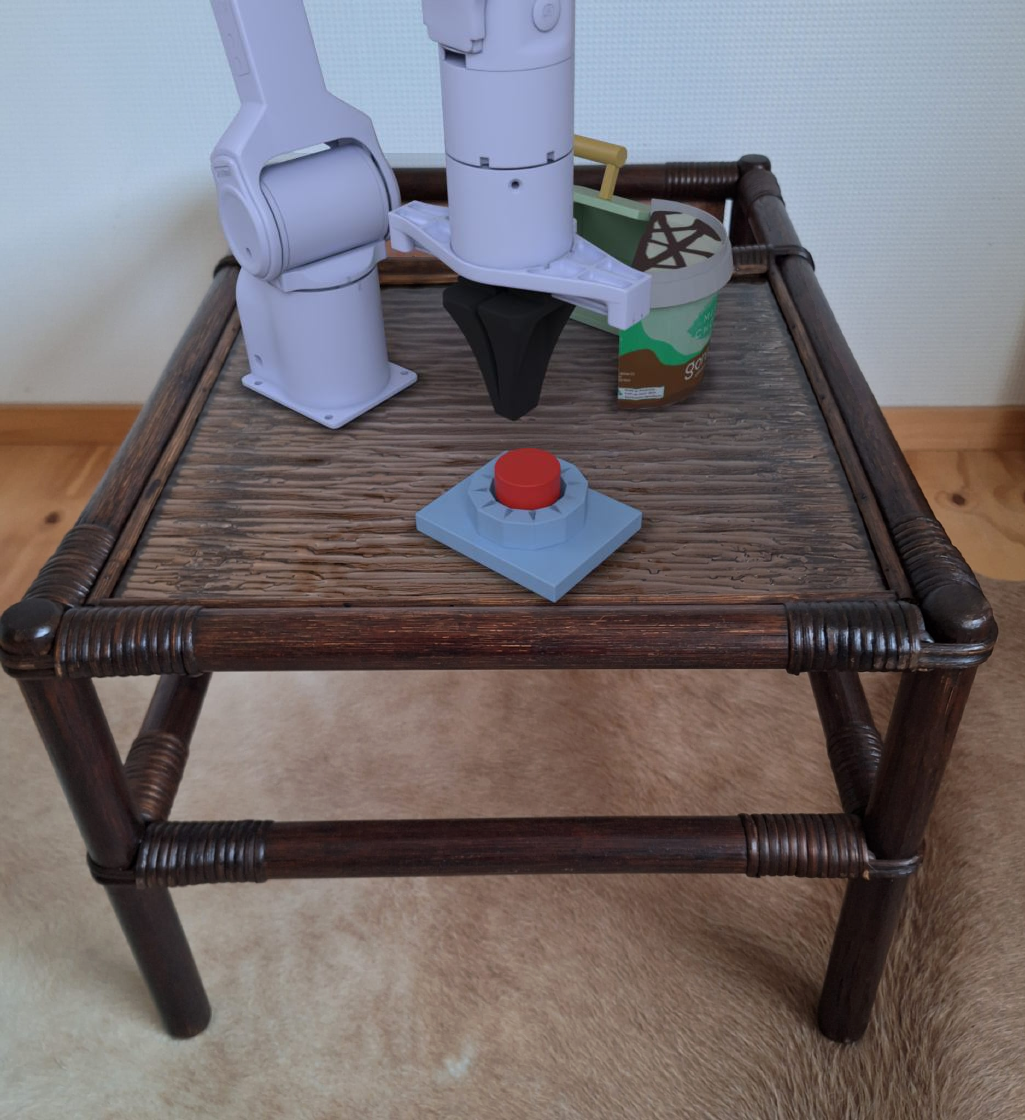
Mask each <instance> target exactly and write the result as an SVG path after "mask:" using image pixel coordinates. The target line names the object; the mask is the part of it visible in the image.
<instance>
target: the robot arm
mask: <svg viewBox="0 0 1025 1120" xmlns="http://www.w3.org/2000/svg"><path fill="white" fill-rule="evenodd" d="M209 3H210V6H211V9H212V13H213V15H214V19H215V22H216V25H217V29H218V33H219V37H220V40H221V42H222V45H223V49H224V53H225V56H226V59H227V62H228V66H229V69H230V72H231V75H232V76H231V77H232V79H233V83H234V86H235V89H236V92H237V95H238V99H239V102H240V107H239V109H238V111H237V113H236V114H235V116H234V117H233V119H232V121H231V122H230V123H229V125H228V126H227V128H226V130H224V132H223V133H222V135H221V137H220V138H219V140H218V142H217V143H216V144H215V146H214V148H213V149H212V152H211V154H210V156H209V161H210V170H211V174H212V176H213V177H212V178H213V181H214V185H215V190H216V195H217V210H218V216H219V221H220V225H221V229H222V233H223V235H224V238H225V240H226V243H227V245H228V247H229V249H230V251H231V253H232V255H233V256H234V258H235V260H236V262H237V263H238V264H239V265H240V267H241V268H240V271H239V273H238V276H237V280H236V285H235V301H236V306H237V311H238V316H239V321H240V326H241V331H242V334H243V339H244V345H245V349H246V354H247V359H248V364H249V369H250V373H248V374H246V375H244V376H243V377H242V378H241V382H242V383H241V384H242V385H243V386H244V387H246V388H248V389H250V390H252V391H254V392H256V393H258V394H260V395H262V396H264V397H266V398H268V399H270V400H272V401H274V402H276V403H279V404H280V405H282V406H284V407H286V408H288V409H290V410H293V411H295V412H296V413H298V414H301V415H302V416H304V417H307V418H308V419H311V420H313V421H315V422H317V423H318V424H321V425H323V426H325V427H327V428H329V429H333V430H336V429H339V428H341V427H343V426H344V425H346V424H348V423H350V422H351V421H353V420H354V419H357V418H358V417H359V416H361V415H363V414H366V412H368V411H369V410H371V409H373V408H375V407H376V406H378V405H380V404H382V403H383V402H384V401H386V400H388V399H390V398H391V397H394V396H395V395H396V394H398V393H399V392H401V391H403V390H405V389H406V388H408V387H410V386H411V385H413V384H414V383H416V382H417V381H418V374H417V373H416V372H415V371H413V370H410V369H407V368H405V367H403V366H401V365H398V364H396V363H394V362H391V361H389V357H388V347H387V340H386V339H387V338H386V331H385V321H384V312H383V303H382V293H381V286H380V285H381V284H380V277H379V269H378V267H379V266H378V263H380V262H381V261H383V260H386V259H387V258H388V253H387V246H386V243H387V242H389V241H390V246H391V249H392V250H395V251H397V252H400V253H404V254H407V253H410V252H413V251H414V250H415V251H419V252H422V253H425V254H427V255H431V256H433V257H436V258H437V259H438V260H440V261H441V262H442V263H444V264H445V265H446V266H447V267H448V268H450V269H451V270H452V271H453V272H455V273H456V274H457V275H458V276H457V277H456V278H457V279H456V280H457V281H456V282H455V283H453V284H451V285H449V286H447V287H446V288H445V289H444V290H443V291H442V293H441V299H442V308H444V309H445V311H446V312H447V313H448V314H449V316H450V317H451V318H452V320H453V321H454V323H455V324H456V325H457V326H458V328H459V330H460V332H461V333H462V335H463V336H464V338H465V340H466V342H467V344H468V345H469V348H470V350H471V351H472V354H473V357H474V358H475V361H476V363H477V365H478V368H479V370H480V373H481V376H482V379H483V381H484V384H485V387H486V391H487V393H488V396H489V399H490V402H491V405H492V408H493V411H494V414H495V415H498V416H500V417H502V418H505V419H507V420H509V421H511V422H516V421H518V420H520V419H521V418H523V417H524V416H525V415H527V414H528V413H530V412H531V411H533V410H534V409H536V408H537V407H538V405H539V401H540V398H541V397H540V396H541V393H542V389H543V384H544V381H545V377H546V374H547V370H548V368H549V364H550V361H551V359H552V355H553V352H554V350H555V348H556V346H557V344H558V341H559V339H560V336H561V334H562V332H563V330H564V329H565V326H566V325H567V323H568V321H569V319H570V318H569V317H570V316H571V314H572V312H573V311H574V309H575V307H576V306H580V307H583V308H585V309H588V310H591V311H594V312H597V313H600V314H603V315H606V316H608V318H607V323H608V324H609V325H610V326H613V327H615V328H618V329H621V330H626V329H628V328H629V327H631V326H632V325H635V324H636V323H638V322H639V321H641V320H642V319H643V318H644V317H646V316H647V315H649V314H650V300H651V284H652V276H651V275H649V274H646V273H643V272H641V271H638V270H636V269H633V268H631V267H629V266H627V265H625V264H623V263H622V262H620V261H618V260H617V259H615V258H614V257H612V256H610V255H609V254H607V253H606V252H604V251H602V250H601V249H599V248H598V247H596V246H595V245H593V244H591V243H590V242H588V241H587V240H585V239H584V238H582V237H580V236H579V235H577V234H576V233H577V221H576V219H575V218H573V185H574V171H575V170H574V168H575V167H574V164H575V163H574V161H575V159H574V158H575V156H574V134H575V86H576V85H575V83H576V82H575V80H576V79H575V78H576V77H575V75H576V70H575V69H576V0H421V10H422V11H421V13H422V23H423V25H425V26H426V28H427V30H426V31H427V35H428V36H427V37H428V38H429V39H430V40H431V41H432V42H435V43H437V49H438V50H437V51H438V64H439V77H440V78H439V79H440V80H439V81H440V93H441V107H442V108H441V109H442V123H443V124H442V126H443V140H444V141H443V143H444V157H445V170H446V171H445V174H446V186H447V187H446V188H447V204H448V206H442V205H436V204H430V203H426V202H423V201H418V200H412V201H410V202H408V203H405V204H403V205H402V197H401V191H400V186H399V183H398V180H397V178H396V174H395V172H394V170H393V167H392V166H391V164H390V163H389V161H388V160H387V158H386V156H385V154H384V151H383V149H382V147H381V145H380V142H379V139H378V136H377V133H376V130H375V127H374V124H373V120H372V118H371V117H370V116H369V115H368V114H367V113H365V112H364V111H361V110H360V109H358V108H356V107H355V106H353V105H351V104H349V103H348V102H346V101H344V100H343V99H341V98H340V97H338V96H336V95H334V94H333V93H331V92H330V91H329V90H328V89H327V87H326V83H325V79H324V76H323V71H322V68H321V63H320V60H319V56H318V52H317V49H316V45H315V41H314V38H313V34H312V30H311V26H310V22H309V19H308V14H307V11H306V8H305V4H304V0H209ZM321 144H324V145H326V146H328V147H329V148H326V149H324V150H319V151H316V152H312V153H308V154H306V155H302V156H298V157H295V158H291V159H287V160H284V161H280V162H277V163H273V164H270V165H266V164H267V163H268V161H270V160H272V159H274V158H276V157H278V156H281V155H285V154H289V153H292V152H296V151H299V150H303V149H307V148H310V147H313V146H318V145H321ZM265 165H266V166H265Z"/></svg>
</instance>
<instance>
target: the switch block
mask: <svg viewBox="0 0 1025 1120" xmlns="http://www.w3.org/2000/svg"><path fill="white" fill-rule="evenodd" d="M509 451H510V450H504V451H502V452H501V453H500V454H498V455H497V456H495V457H494V458H493V459H491V460H490V461H488V462H487V463H486V464H484V465H482V466H481V467H479V468H478V469H477V470H475V471H474V472H473V473H471V474H469V475H468V476H467V477H465V478H464V479H463V480H461V481H460V482H458V483H457V484H455V485H454V486H453V487H451V488H449V489H448V490H447V491H445V492H444V493H443V494H441V495H440V496H438V497H437V498H435V499H433V500H432V502H430V503H429V504H427V505H426V506H424V507H423V508H421V509H420V510H418V511H417V512H416V513H414V514H415V515H414V516H415V526H416V530H417V531H418V532H419V533H422V534H424V535H426V536H428V537H429V538H431V539H434V540H435V541H436V542H439V543H440V544H443V545H445V546H447V547H448V548H450V549H452V550H454V551H456V552H458V553H460V554H462V555H463V556H465V557H467V558H470V559H471V560H473V561H475V562H477V563H478V564H480V565H482V566H484V567H486V568H488V569H490V570H492V571H494V572H495V573H497V574H500V575H501V576H503V577H505V578H507V579H509V580H511V581H512V582H514V583H515V584H518V585H519V586H522V587H524V588H526V589H527V590H529V591H531V592H533V593H535V594H536V595H539V596H541V597H542V598H544V599H546V600H548V601H550V602H552V603H554V604H555V603H556V602H558V601H559V600H560V599H561V598H562V597H563V596H564V595H566V594H567V593H568V592H569V591H570V590H571V589H573V588H574V587H576V585H577V584H579V582H581V581H582V580H583V579H584V578H586V577H587V575H589V574H590V573H591V572H592V571H594V570H595V569H596V568H597V567H598V566H599V565H601V564H602V563H603V562H604V561H605V560H606V559H607V558H609V557H610V556H611V555H612V554H613V553H614V552H615V551H616V550H618V549H619V548H620V547H622V545H624V544H625V543H626V542H627V541H628V540H629V539H630V538H631V537H633V536H634V535H635V534H637V532H639V531H640V530H641V529H642V523H643V522H642V521H643V512H642V511H641V510H639V509H637V508H634V507H632V506H630V505H628V504H626V503H624V502H621V501H619V500H617V499H614V498H612V497H611V496H608V495H606V494H604V493H602V492H599V491H597V490H594V489H592V488H590V487H589V482H588V480H587V478H586V477H585V476H584V474H583V473H582V472H581V470H580V469H579V468H578V466H577V465H575V464H573V463H570V462H569V461H567V460H564V459H562V458H560V457H557V456H555V457H556V458H557V459H558V461H559V462H560V466H561V492H560V496H559V498H558V499H557V501H556V502H555V503H554V504H552V505H551V506H549V507H545V508H541V509H537V510H533V511H532V510H520V509H510V508H508V507H506V506H504V505H503V504H502V503H500V502H499V500H498V499H497V497H496V494H495V473H494V467H495V463H496V461H497V460H498V459H499V458H500V457H501V456H502V455H504V454H505V453H507V452H509Z"/></svg>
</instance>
